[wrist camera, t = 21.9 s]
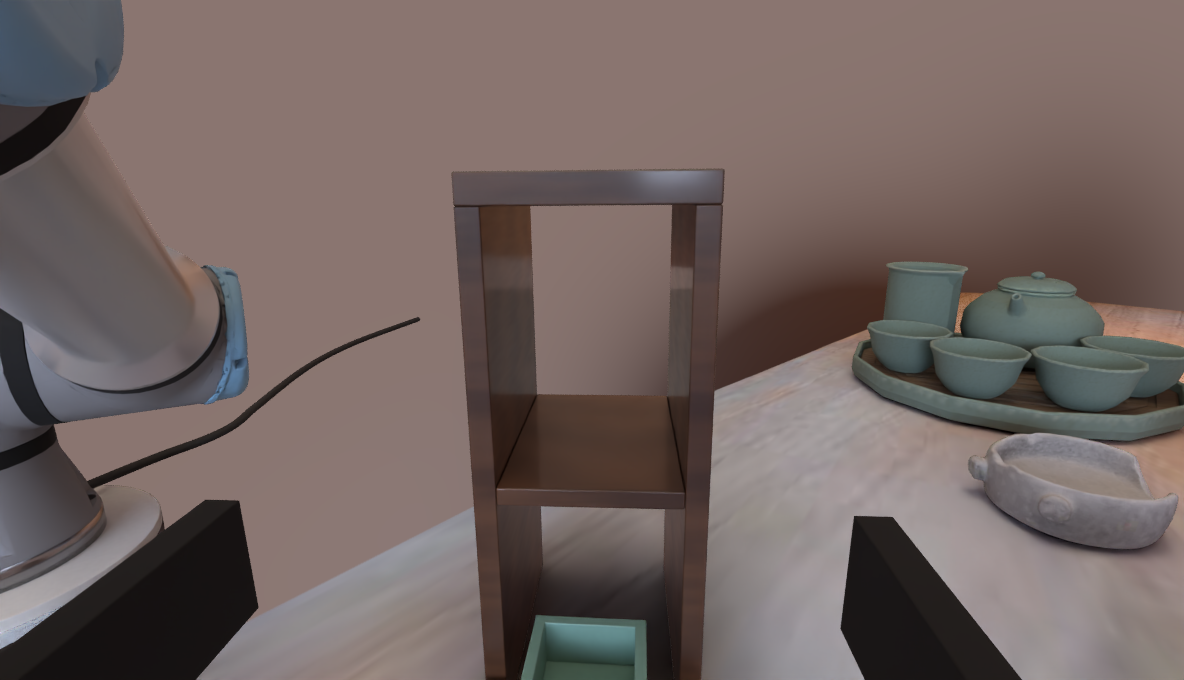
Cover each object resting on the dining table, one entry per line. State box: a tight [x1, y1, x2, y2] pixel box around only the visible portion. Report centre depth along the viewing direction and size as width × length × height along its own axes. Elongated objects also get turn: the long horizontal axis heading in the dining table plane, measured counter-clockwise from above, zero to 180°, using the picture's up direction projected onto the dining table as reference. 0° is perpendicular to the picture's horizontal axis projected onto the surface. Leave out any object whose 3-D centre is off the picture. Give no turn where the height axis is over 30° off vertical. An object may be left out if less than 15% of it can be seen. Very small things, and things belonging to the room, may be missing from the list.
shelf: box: [452, 169, 724, 680], centre depth 36 cm, size 14×12×30 cm
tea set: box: [852, 262, 1184, 441], centre depth 84 cm, size 40×40×16 cm
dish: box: [968, 433, 1178, 549], centre depth 53 cm, size 14×14×5 cm
